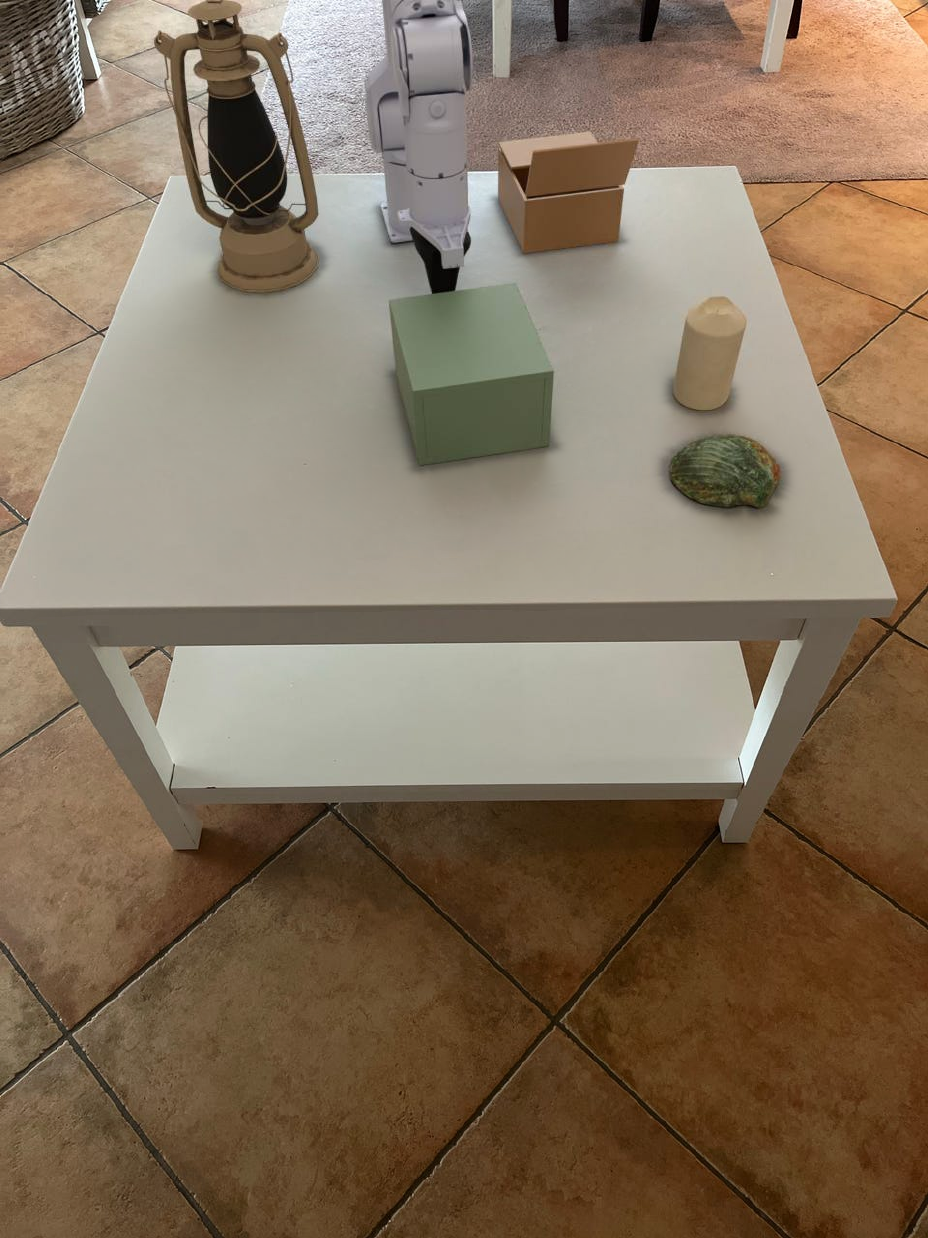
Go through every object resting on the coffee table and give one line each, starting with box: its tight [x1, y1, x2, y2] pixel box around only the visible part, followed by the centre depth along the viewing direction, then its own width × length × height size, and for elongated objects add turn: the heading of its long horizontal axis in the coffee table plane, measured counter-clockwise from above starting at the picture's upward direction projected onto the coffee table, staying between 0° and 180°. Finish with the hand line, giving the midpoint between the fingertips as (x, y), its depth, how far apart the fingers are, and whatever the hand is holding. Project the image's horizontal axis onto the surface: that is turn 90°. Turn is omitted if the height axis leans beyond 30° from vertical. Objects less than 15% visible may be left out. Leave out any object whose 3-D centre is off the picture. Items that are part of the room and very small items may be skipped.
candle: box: [672, 295, 748, 411], centre depth 87 cm, size 6×6×10 cm
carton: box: [497, 131, 625, 255], centre depth 111 cm, size 14×12×7 cm
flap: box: [525, 137, 640, 197], centre depth 101 cm, size 7×12×1 cm
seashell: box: [668, 433, 782, 509], centre depth 82 cm, size 10×4×10 cm
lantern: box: [153, 0, 320, 294], centre depth 97 cm, size 15×12×30 cm
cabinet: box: [388, 282, 555, 467], centre depth 88 cm, size 15×13×9 cm
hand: (443, 296), depth 96 cm, fingers closed, pressing on drawer
